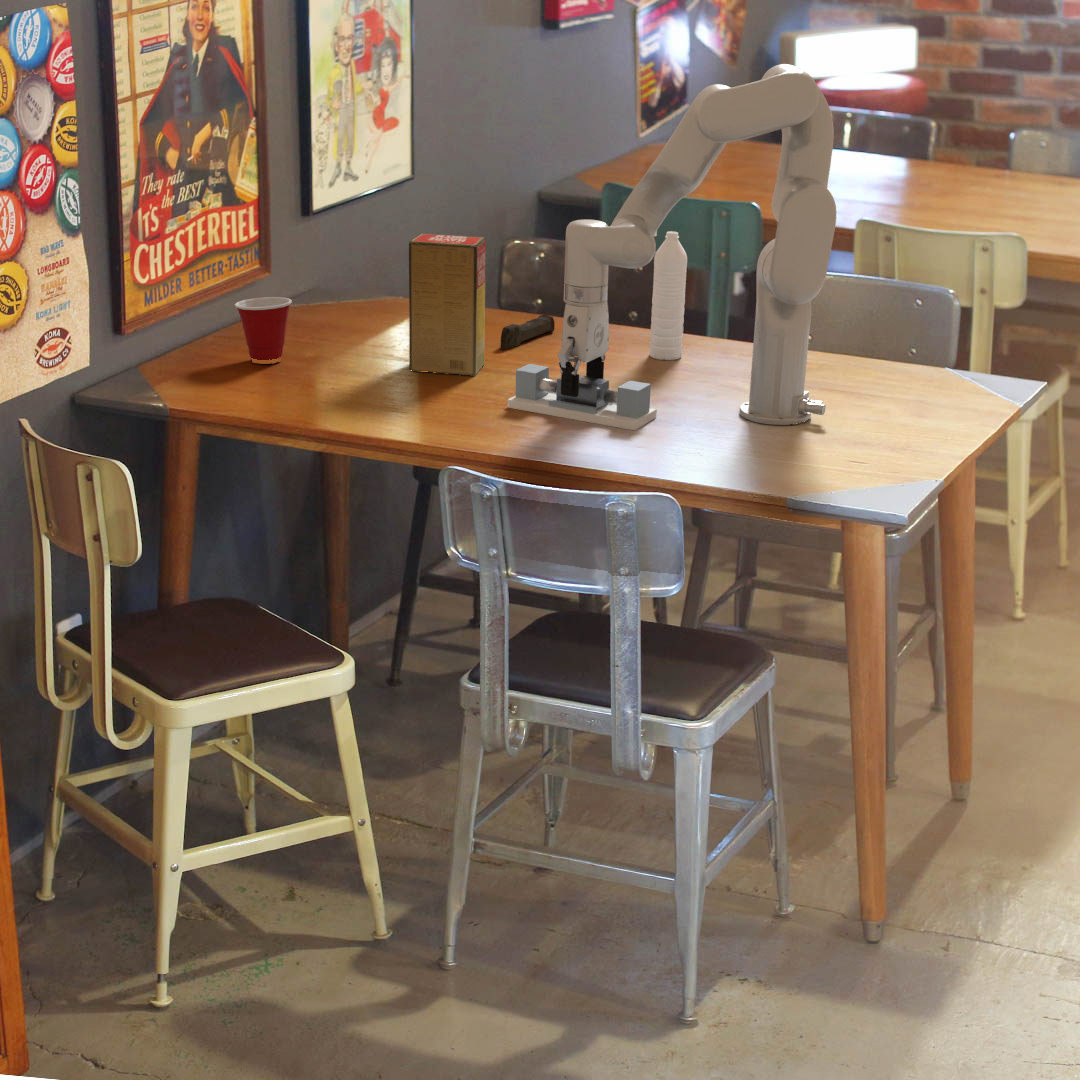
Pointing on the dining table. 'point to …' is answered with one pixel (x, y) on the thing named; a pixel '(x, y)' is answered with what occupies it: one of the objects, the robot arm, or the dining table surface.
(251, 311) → the plastic cup
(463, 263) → the food packaging
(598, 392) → the block
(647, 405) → the shaft stand
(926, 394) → the dining table surface
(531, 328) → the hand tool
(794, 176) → the robot arm
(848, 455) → the dining table surface
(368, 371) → the dining table surface
